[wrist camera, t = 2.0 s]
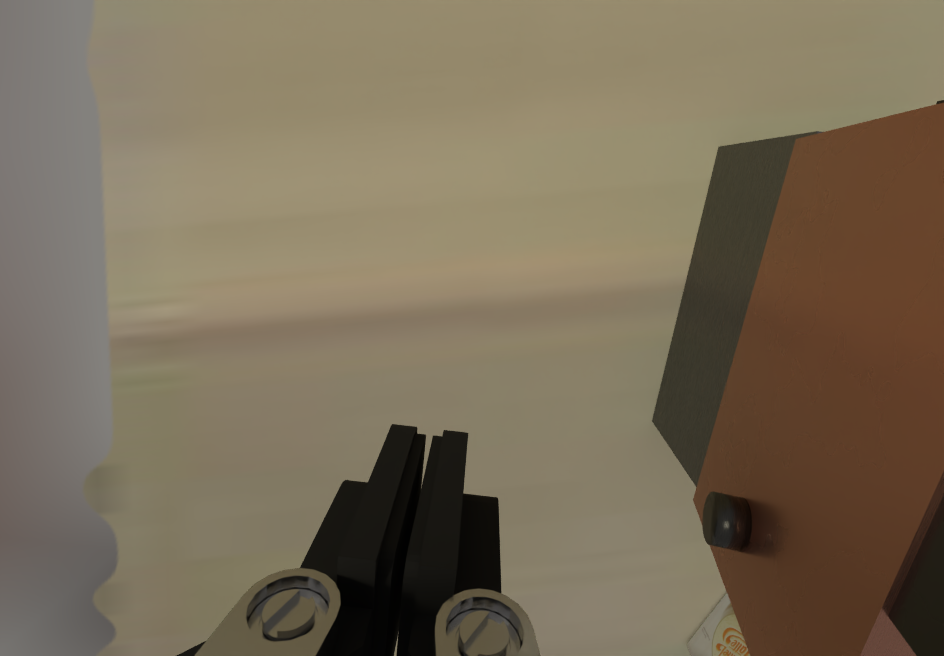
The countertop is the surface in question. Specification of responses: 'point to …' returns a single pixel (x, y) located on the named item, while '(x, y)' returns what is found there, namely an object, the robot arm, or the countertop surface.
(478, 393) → the countertop surface
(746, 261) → the cooker base
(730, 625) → the coffee box
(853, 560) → the lid
